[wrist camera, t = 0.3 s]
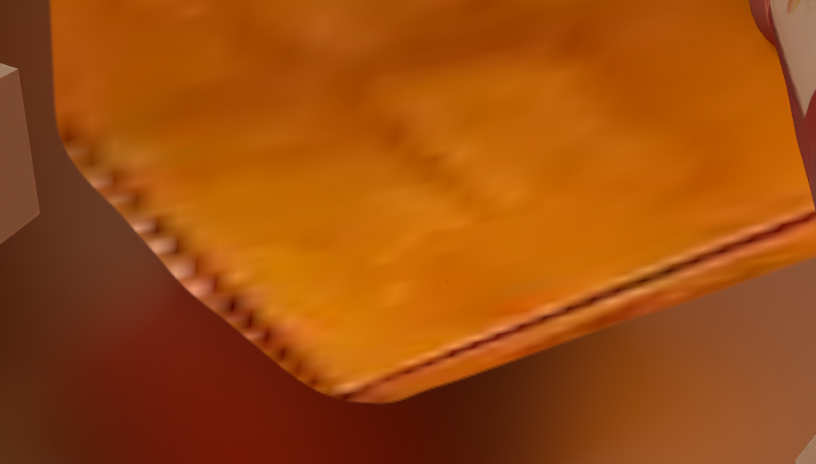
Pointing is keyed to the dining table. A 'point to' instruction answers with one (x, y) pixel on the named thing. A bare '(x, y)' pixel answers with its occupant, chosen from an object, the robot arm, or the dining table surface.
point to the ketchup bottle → (795, 66)
